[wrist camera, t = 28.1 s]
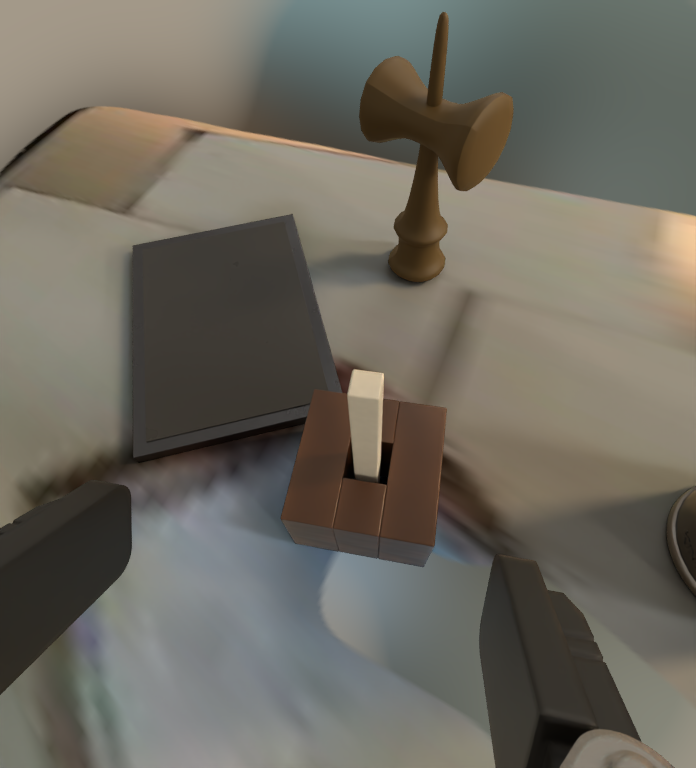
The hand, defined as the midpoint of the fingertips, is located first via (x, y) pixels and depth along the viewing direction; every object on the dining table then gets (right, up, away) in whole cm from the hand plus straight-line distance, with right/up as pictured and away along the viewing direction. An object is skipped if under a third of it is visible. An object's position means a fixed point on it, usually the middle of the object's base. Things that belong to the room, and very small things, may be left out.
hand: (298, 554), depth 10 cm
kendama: (+7, +15, +34) cm, 38 cm away
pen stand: (+2, -4, +23) cm, 23 cm away
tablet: (-10, +9, +31) cm, 34 cm away
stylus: (+2, -4, +23) cm, 23 cm away
